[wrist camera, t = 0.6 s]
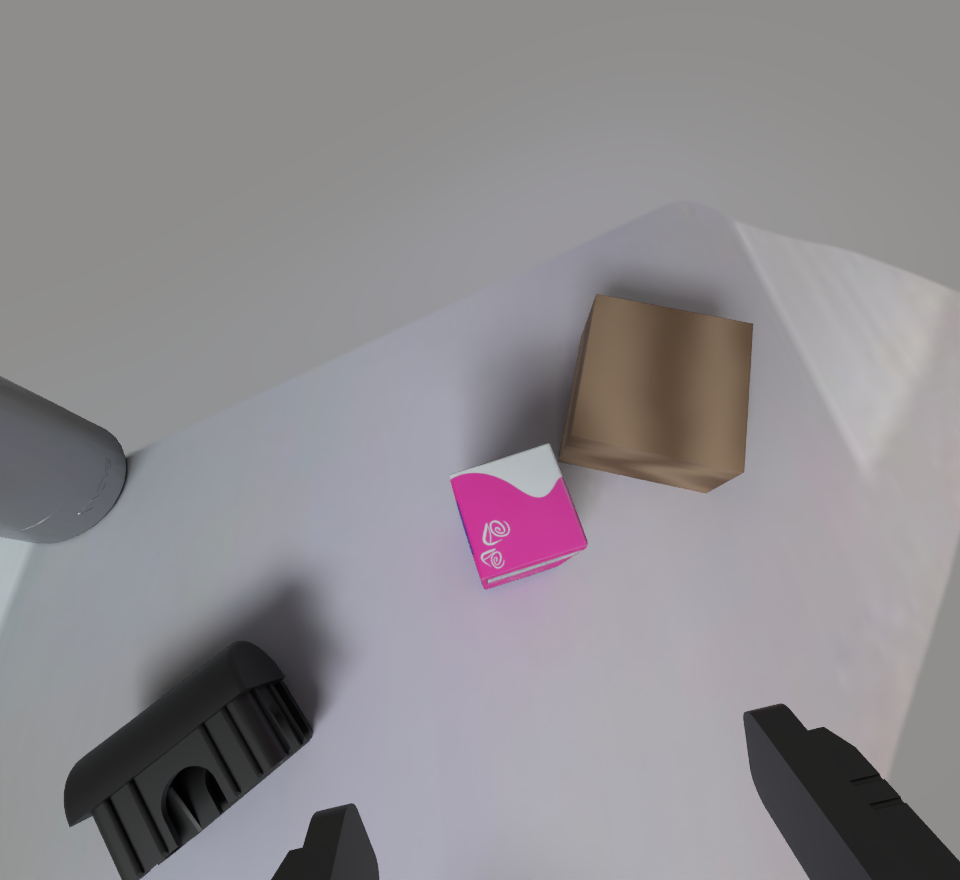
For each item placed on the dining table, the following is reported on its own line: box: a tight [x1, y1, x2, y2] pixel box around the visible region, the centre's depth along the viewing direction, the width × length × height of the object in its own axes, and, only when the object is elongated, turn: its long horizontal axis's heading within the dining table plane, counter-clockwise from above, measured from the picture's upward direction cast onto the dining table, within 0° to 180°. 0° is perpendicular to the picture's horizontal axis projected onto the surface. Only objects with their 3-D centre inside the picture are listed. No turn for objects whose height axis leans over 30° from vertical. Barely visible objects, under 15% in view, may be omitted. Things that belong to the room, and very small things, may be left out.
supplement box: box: [450, 443, 588, 589], centre depth 31 cm, size 6×6×12 cm
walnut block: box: [558, 294, 753, 493], centre depth 37 cm, size 11×11×6 cm
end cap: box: [64, 641, 313, 880], centre depth 29 cm, size 10×7×7 cm
